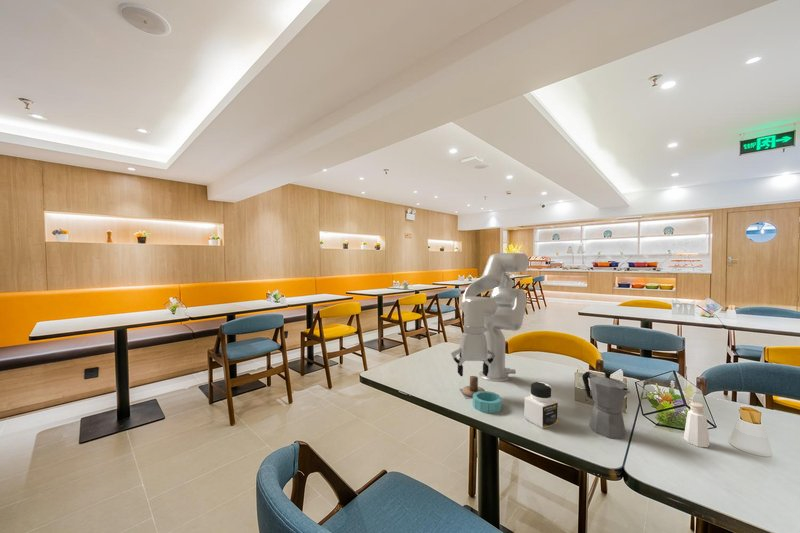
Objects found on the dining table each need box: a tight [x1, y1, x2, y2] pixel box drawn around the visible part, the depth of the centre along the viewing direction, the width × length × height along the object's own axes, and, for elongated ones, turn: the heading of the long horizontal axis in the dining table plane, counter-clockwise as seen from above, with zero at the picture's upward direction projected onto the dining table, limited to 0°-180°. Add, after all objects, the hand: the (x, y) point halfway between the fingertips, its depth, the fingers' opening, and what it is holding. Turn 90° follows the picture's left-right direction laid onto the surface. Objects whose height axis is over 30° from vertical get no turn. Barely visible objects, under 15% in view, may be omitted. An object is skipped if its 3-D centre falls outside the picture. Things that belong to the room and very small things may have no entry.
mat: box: [459, 388, 473, 400], centre depth 118 cm, size 9×9×1 cm
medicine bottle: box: [523, 381, 559, 429], centre depth 98 cm, size 7×7×12 cm
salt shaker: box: [683, 401, 711, 448], centre depth 87 cm, size 5×5×11 cm
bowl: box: [472, 390, 503, 414], centre depth 107 cm, size 10×10×4 cm
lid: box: [462, 375, 486, 398], centre depth 118 cm, size 8×8×6 cm
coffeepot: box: [581, 371, 631, 440], centre depth 94 cm, size 15×9×18 cm, turn 16°
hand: (472, 375), depth 117 cm, fingers open, 9 cm apart
